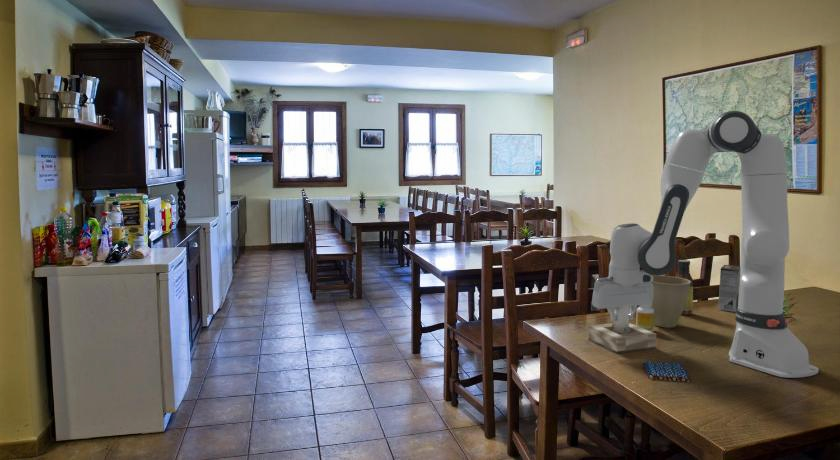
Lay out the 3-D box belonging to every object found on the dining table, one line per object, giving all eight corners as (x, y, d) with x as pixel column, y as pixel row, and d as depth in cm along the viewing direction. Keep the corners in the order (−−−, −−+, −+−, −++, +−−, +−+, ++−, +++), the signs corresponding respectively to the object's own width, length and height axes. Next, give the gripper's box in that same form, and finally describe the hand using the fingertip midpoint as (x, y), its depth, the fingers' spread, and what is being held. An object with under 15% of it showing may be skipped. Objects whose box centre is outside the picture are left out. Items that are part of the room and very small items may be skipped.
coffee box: (721, 304, 232) (724, 264, 231) (740, 307, 229) (742, 266, 227) (717, 309, 225) (719, 267, 223) (736, 312, 221) (739, 269, 219)
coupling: (634, 334, 181) (635, 305, 180) (622, 335, 179) (623, 306, 178) (619, 327, 187) (621, 299, 186) (607, 328, 186) (609, 300, 185)
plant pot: (675, 333, 195) (678, 286, 193) (633, 324, 206) (635, 279, 204) (696, 325, 204) (698, 279, 202) (654, 316, 215) (656, 273, 213)
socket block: (655, 348, 179) (656, 333, 179) (616, 353, 175) (617, 338, 174) (625, 335, 193) (626, 321, 192) (588, 339, 188) (589, 325, 188)
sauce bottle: (693, 312, 221) (696, 260, 218) (691, 316, 215) (694, 262, 213) (674, 310, 224) (677, 258, 222) (671, 314, 219) (674, 261, 217)
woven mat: (691, 384, 153) (692, 376, 152) (648, 381, 155) (648, 373, 155) (682, 369, 163) (683, 362, 162) (642, 367, 165) (642, 360, 165)
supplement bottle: (654, 332, 195) (655, 304, 194) (637, 332, 197) (638, 303, 195) (651, 328, 201) (652, 300, 200) (634, 327, 202) (636, 299, 201)
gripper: (601, 280, 175) (599, 325, 177) (657, 276, 181) (655, 320, 183) (588, 276, 181) (586, 320, 183) (643, 272, 187) (641, 314, 189)
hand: (621, 320), depth 183 cm, fingers closed on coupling, 4 cm apart
